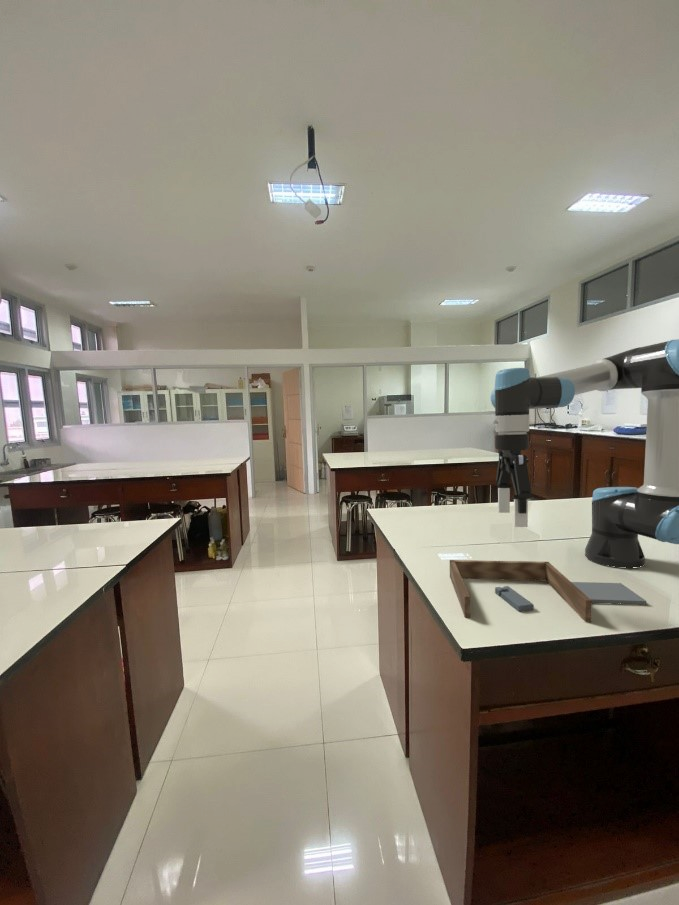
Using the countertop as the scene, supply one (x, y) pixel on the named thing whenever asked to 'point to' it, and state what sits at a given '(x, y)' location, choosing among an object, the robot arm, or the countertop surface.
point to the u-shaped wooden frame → (517, 572)
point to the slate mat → (609, 593)
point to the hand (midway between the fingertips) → (511, 519)
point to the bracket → (514, 599)
